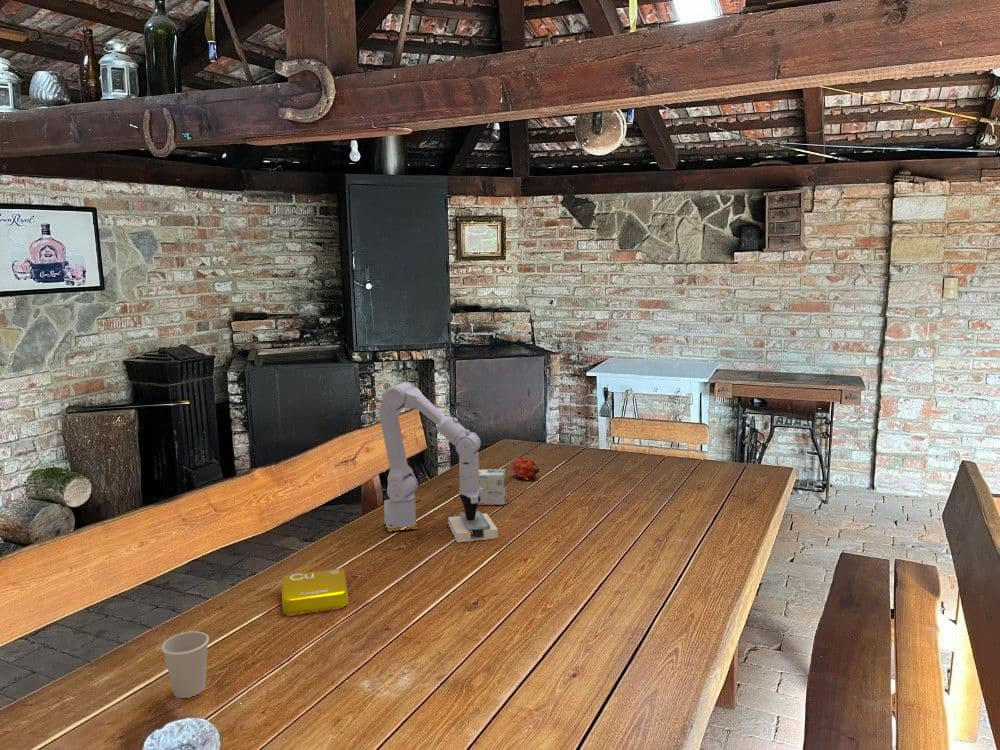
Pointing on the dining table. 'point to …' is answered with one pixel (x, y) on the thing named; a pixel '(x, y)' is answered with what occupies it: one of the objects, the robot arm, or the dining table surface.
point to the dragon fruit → (524, 468)
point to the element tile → (314, 591)
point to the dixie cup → (187, 662)
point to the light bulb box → (492, 486)
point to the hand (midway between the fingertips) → (470, 519)
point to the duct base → (464, 534)
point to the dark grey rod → (477, 533)
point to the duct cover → (475, 521)
